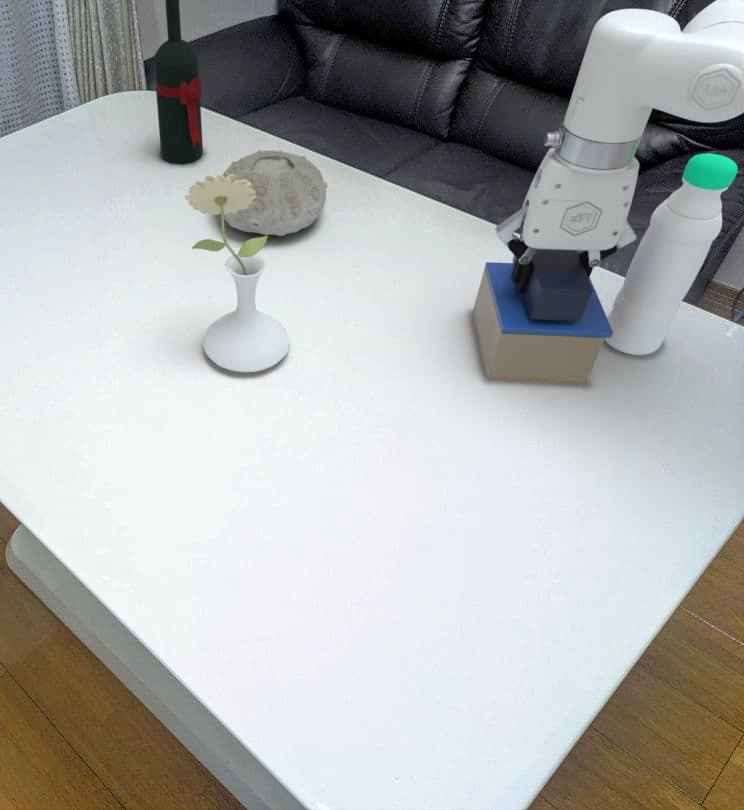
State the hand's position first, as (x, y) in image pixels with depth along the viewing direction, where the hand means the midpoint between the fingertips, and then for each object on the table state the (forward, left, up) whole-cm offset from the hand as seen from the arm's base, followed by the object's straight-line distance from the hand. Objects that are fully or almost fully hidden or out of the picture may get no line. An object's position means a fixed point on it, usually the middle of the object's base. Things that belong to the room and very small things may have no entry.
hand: (546, 286), depth 89 cm
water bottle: (-14, -3, -10) cm, 17 cm away
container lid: (0, 0, -2) cm, 2 cm away
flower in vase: (+37, +3, -10) cm, 38 cm away
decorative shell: (+35, -30, -10) cm, 47 cm away
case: (0, 0, -1) cm, 1 cm away
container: (0, 0, -10) cm, 10 cm away
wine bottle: (+52, -51, -10) cm, 73 cm away
